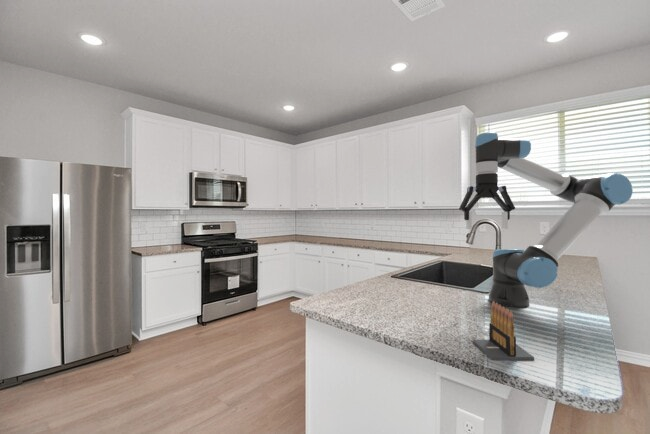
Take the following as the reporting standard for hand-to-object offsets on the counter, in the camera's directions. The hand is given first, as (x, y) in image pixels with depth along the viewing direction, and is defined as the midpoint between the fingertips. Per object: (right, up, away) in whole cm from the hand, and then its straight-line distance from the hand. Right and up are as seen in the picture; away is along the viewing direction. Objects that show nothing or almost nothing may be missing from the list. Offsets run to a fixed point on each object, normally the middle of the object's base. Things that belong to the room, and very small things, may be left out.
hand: (486, 228), depth 118 cm
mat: (-13, -33, -32) cm, 48 cm away
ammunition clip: (-13, -33, -32) cm, 47 cm away
